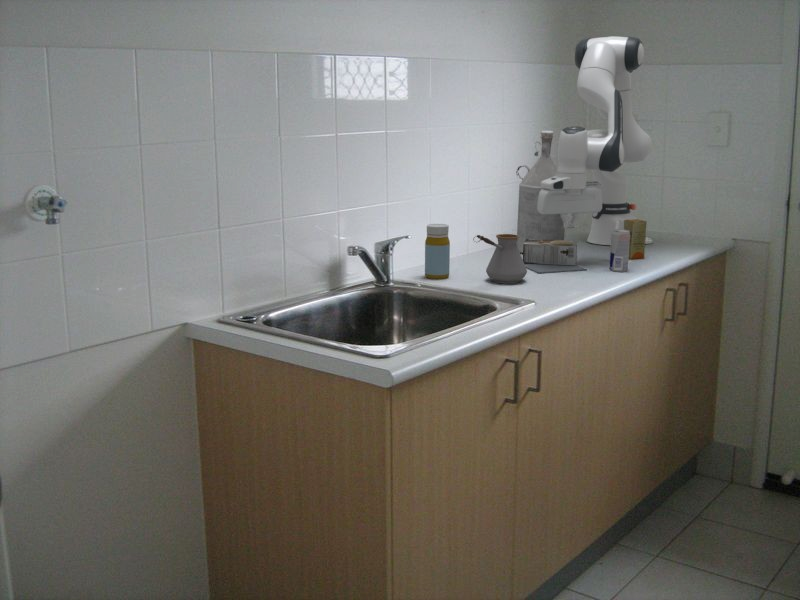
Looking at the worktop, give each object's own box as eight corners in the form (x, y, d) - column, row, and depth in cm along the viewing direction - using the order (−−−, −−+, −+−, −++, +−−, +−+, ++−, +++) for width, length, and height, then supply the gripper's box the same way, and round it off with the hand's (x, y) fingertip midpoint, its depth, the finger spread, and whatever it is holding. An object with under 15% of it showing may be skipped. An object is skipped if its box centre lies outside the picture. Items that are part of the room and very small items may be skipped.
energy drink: (615, 267, 268) (617, 228, 266) (631, 270, 265) (633, 230, 262) (605, 270, 265) (608, 230, 262) (621, 272, 261) (623, 232, 258)
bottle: (420, 275, 257) (421, 224, 253) (442, 273, 259) (443, 223, 256) (431, 280, 251) (431, 227, 247) (453, 278, 253) (454, 226, 250)
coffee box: (576, 260, 277) (525, 258, 281) (577, 240, 276) (526, 238, 280) (575, 266, 269) (522, 263, 272) (576, 245, 267) (522, 243, 271)
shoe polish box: (630, 259, 281) (632, 222, 278) (621, 256, 286) (624, 219, 283) (643, 258, 283) (646, 221, 280) (635, 256, 287) (637, 219, 284)
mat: (562, 260, 279) (562, 259, 279) (587, 270, 264) (587, 269, 264) (515, 263, 275) (515, 262, 275) (538, 273, 260) (538, 272, 260)
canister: (522, 247, 303) (526, 129, 293) (570, 252, 294) (576, 130, 284) (506, 252, 292) (510, 130, 283) (555, 258, 283) (561, 132, 274)
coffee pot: (500, 274, 258) (501, 223, 255) (534, 280, 251) (536, 227, 248) (457, 287, 242) (458, 233, 239) (492, 293, 235) (494, 237, 232)
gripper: (597, 180, 271) (594, 225, 274) (535, 182, 265) (534, 227, 268) (607, 182, 265) (604, 228, 268) (545, 184, 259) (543, 231, 262)
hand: (569, 228), depth 268 cm, fingers closed
